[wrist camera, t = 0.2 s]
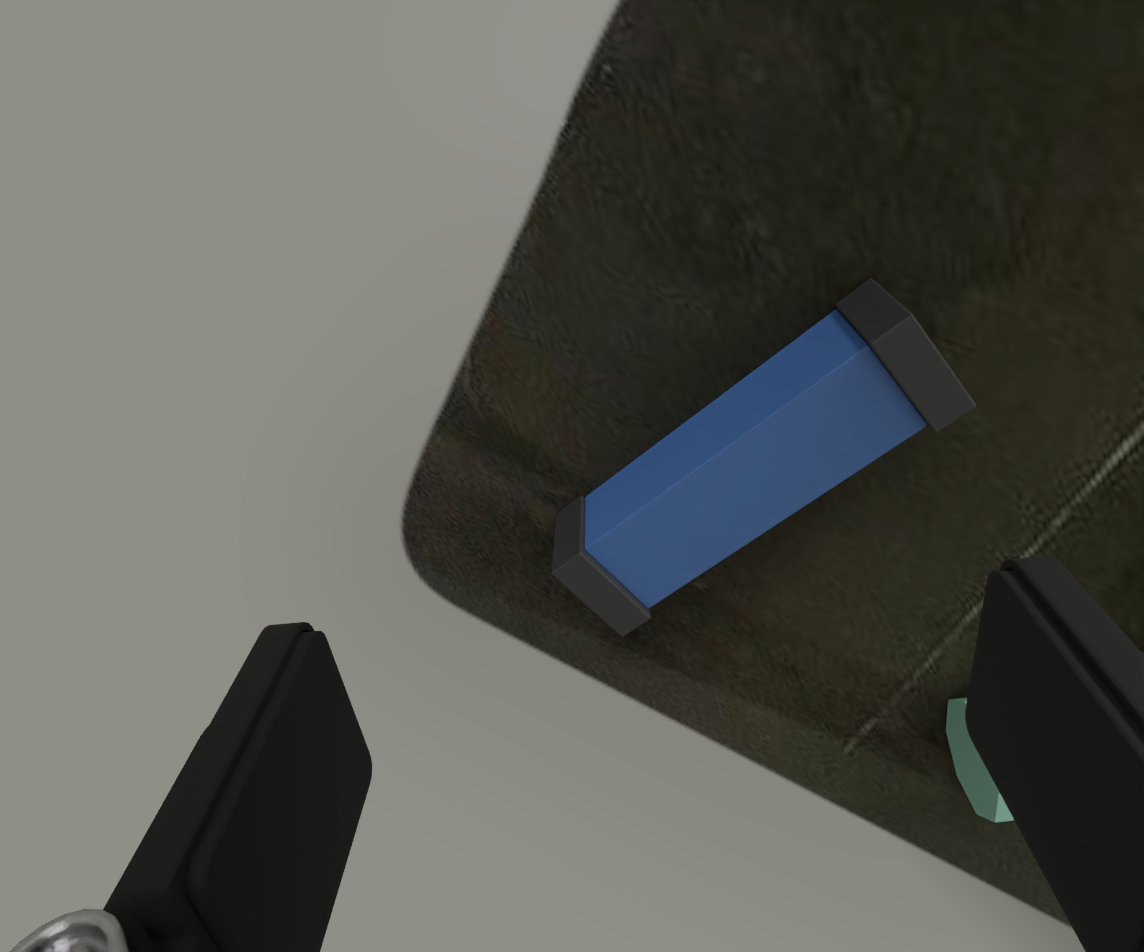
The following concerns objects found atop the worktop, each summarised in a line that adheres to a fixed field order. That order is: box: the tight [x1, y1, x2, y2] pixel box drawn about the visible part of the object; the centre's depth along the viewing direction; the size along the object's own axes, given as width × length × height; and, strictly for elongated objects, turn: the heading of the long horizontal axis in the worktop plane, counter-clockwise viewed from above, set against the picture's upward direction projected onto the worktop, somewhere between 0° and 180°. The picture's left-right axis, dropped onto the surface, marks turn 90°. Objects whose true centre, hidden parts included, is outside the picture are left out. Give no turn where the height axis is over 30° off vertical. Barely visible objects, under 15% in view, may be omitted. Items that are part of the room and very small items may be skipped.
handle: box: [551, 278, 976, 636], centre depth 30 cm, size 16×4×4 cm, turn 132°
